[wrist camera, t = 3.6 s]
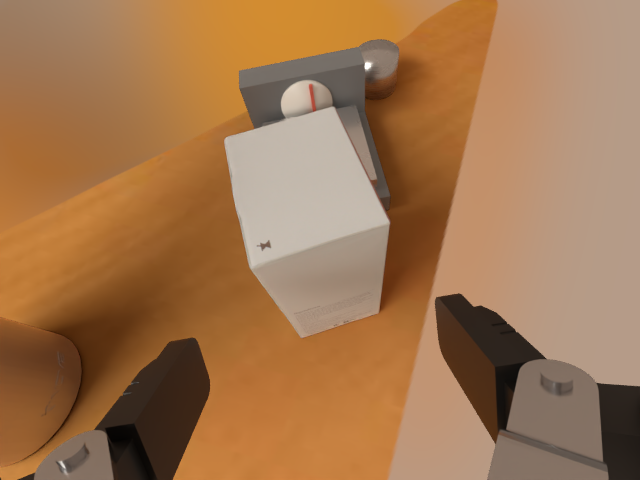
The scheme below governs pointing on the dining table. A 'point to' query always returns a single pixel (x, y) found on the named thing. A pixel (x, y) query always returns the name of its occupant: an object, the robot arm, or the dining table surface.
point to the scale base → (311, 94)
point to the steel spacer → (380, 68)
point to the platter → (352, 137)
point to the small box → (310, 220)
